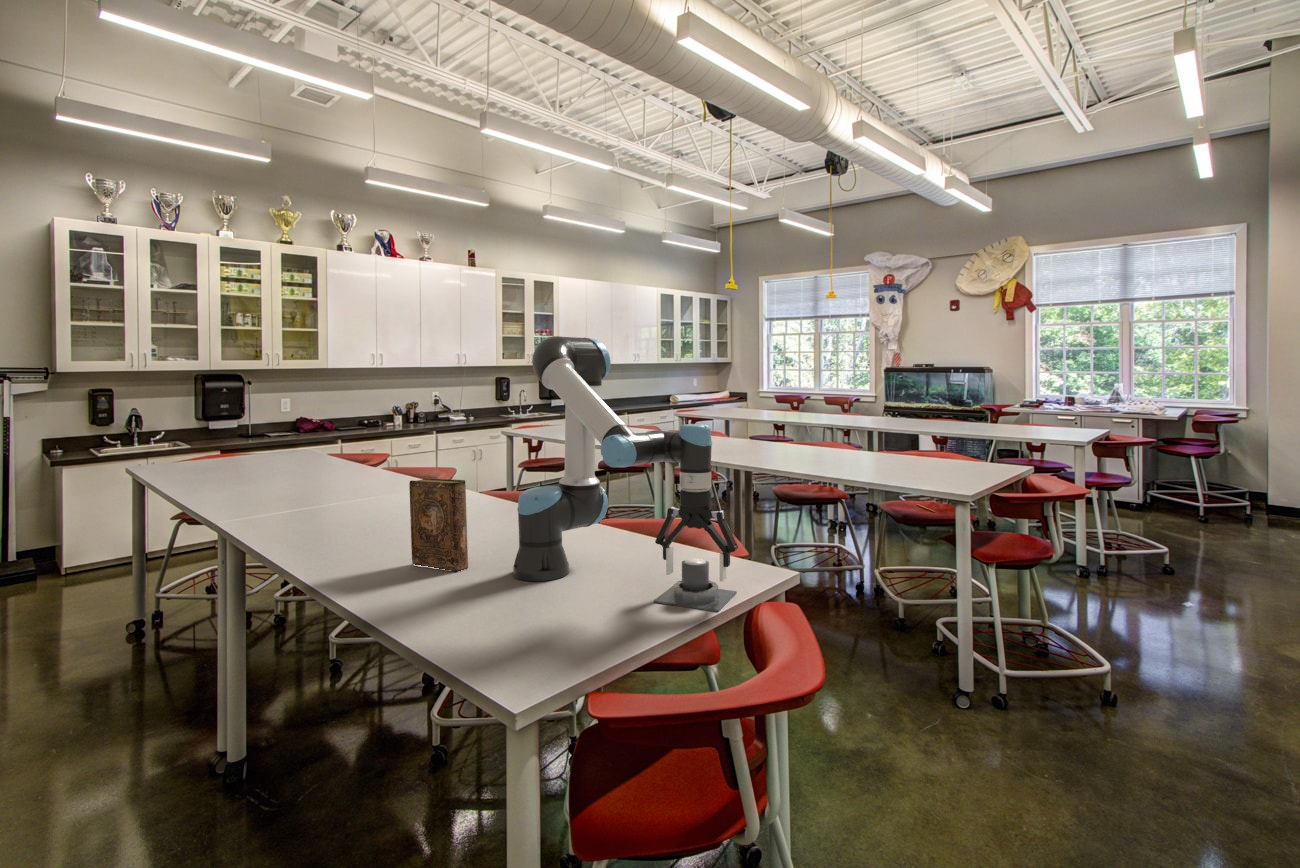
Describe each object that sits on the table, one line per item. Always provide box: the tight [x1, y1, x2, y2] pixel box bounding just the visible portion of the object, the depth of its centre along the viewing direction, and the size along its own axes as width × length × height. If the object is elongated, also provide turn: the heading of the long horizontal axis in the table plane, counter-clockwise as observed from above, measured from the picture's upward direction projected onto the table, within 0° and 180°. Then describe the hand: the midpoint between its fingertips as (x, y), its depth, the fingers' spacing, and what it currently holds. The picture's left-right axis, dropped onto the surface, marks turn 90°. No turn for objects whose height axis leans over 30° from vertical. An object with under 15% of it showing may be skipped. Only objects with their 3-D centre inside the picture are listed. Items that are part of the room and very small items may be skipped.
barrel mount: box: [653, 579, 738, 613], centre depth 152 cm, size 16×14×3 cm
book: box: [408, 477, 469, 572], centre depth 179 cm, size 16×6×25 cm, turn 68°
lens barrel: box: [681, 557, 710, 591], centre depth 151 cm, size 6×6×8 cm
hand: (695, 576), depth 151 cm, fingers open, 13 cm apart
